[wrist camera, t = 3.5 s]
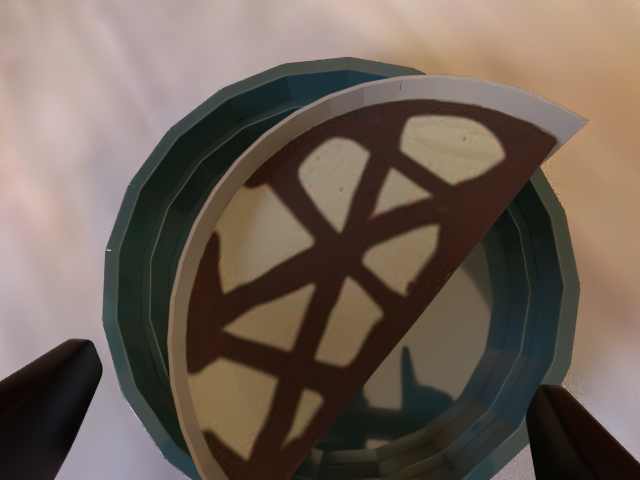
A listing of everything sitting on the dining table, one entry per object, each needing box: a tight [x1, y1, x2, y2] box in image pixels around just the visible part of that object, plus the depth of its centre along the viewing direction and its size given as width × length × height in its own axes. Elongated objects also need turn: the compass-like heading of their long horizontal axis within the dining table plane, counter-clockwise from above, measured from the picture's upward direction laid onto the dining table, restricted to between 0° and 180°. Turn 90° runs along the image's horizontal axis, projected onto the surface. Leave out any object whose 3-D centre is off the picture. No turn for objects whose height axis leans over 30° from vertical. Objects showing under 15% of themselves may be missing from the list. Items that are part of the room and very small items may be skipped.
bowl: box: [102, 57, 580, 480], centre depth 17 cm, size 17×17×4 cm
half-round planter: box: [167, 74, 589, 480], centre depth 14 cm, size 12×6×10 cm, turn 140°
